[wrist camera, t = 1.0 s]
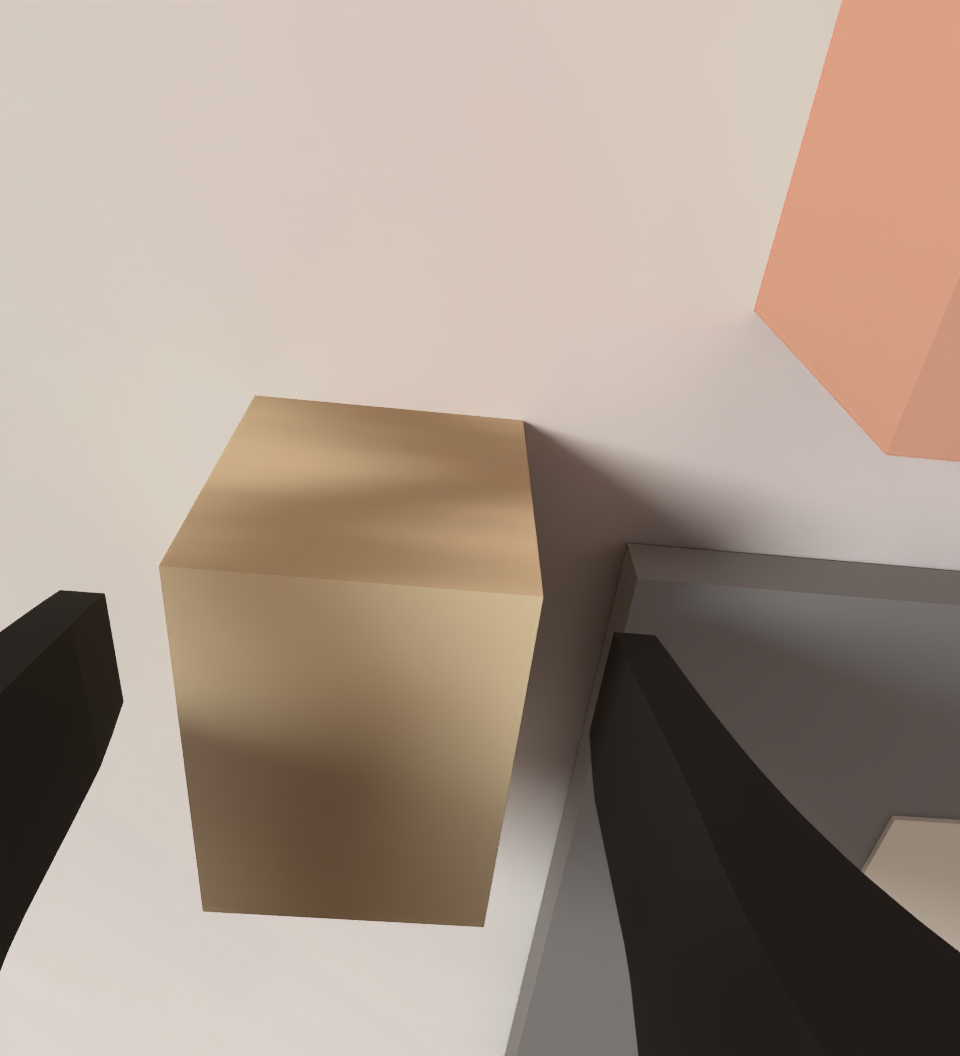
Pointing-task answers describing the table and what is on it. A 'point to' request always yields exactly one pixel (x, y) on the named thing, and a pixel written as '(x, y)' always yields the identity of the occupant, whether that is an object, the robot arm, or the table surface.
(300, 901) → the maple brick
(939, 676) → the baseplate
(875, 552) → the table surface
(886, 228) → the terracotta brick
